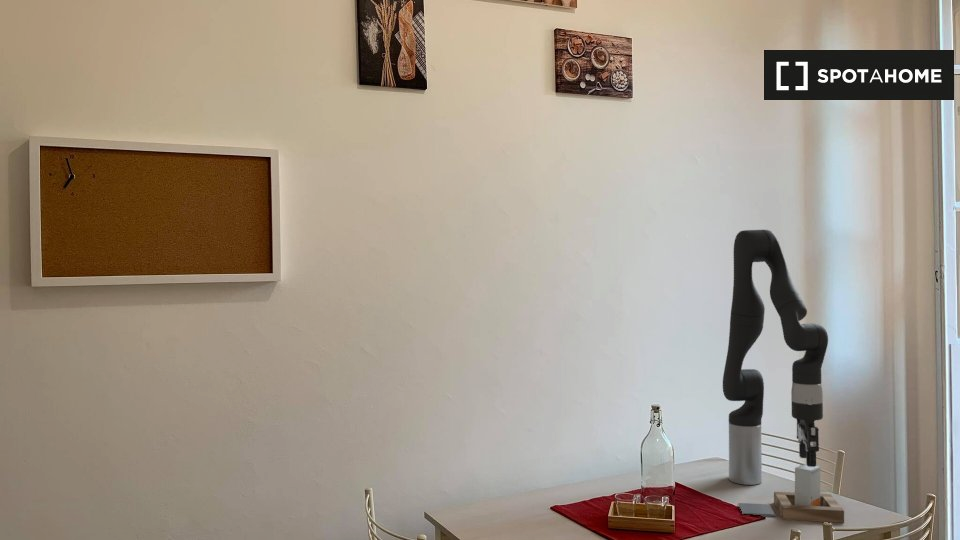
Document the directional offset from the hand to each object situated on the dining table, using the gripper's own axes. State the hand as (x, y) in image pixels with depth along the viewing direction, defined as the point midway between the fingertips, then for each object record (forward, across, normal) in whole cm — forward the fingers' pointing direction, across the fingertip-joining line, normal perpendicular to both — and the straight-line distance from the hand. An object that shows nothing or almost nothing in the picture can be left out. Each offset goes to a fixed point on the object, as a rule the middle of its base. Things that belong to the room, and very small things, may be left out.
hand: (807, 461), depth 201 cm
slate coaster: (+13, +1, -13) cm, 19 cm away
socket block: (+13, 0, 0) cm, 13 cm away
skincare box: (+14, 0, 0) cm, 14 cm away
